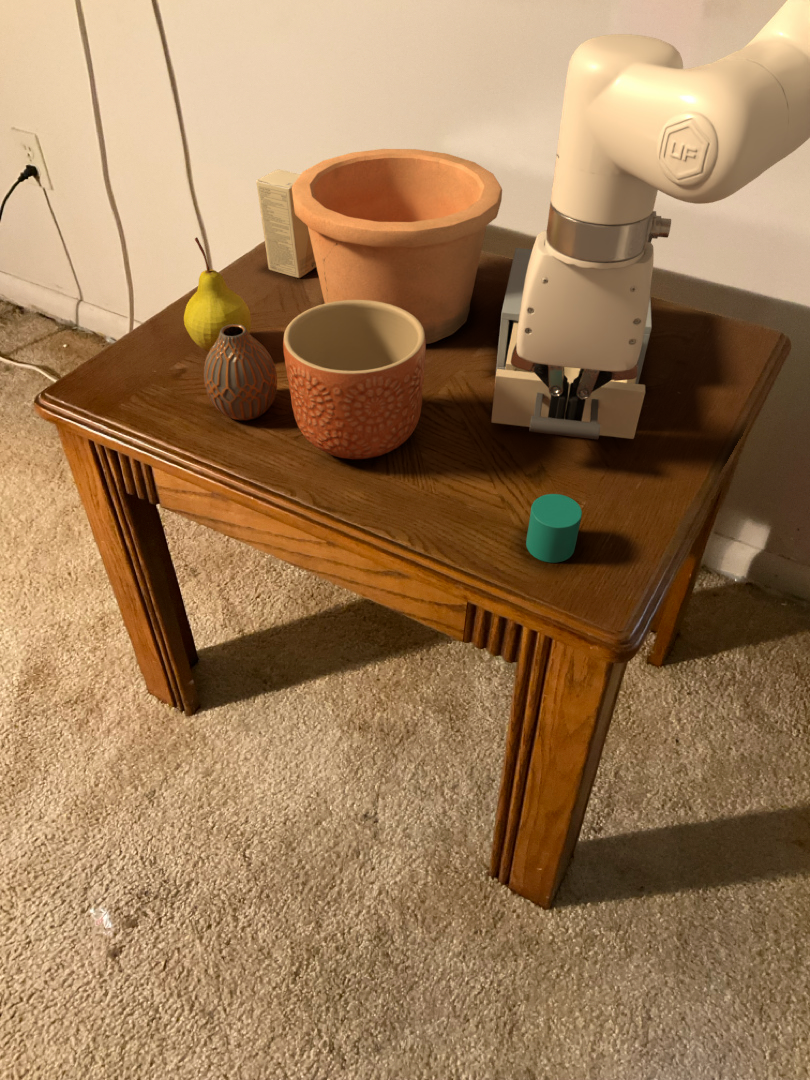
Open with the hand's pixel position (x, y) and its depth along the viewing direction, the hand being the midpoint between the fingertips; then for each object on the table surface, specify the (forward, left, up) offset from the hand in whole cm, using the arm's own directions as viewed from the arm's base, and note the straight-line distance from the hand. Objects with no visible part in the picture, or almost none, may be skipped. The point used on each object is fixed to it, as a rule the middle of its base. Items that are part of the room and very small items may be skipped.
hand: (563, 425), depth 74 cm
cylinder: (0, +13, -3) cm, 13 cm away
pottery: (+20, -23, -3) cm, 31 cm away
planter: (+19, +1, -3) cm, 19 cm away
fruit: (+37, -11, -3) cm, 39 cm away
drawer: (0, -6, -2) cm, 7 cm away
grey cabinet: (0, -19, -3) cm, 20 cm away
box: (+35, -31, -3) cm, 47 cm away
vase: (+31, -1, -3) cm, 31 cm away
